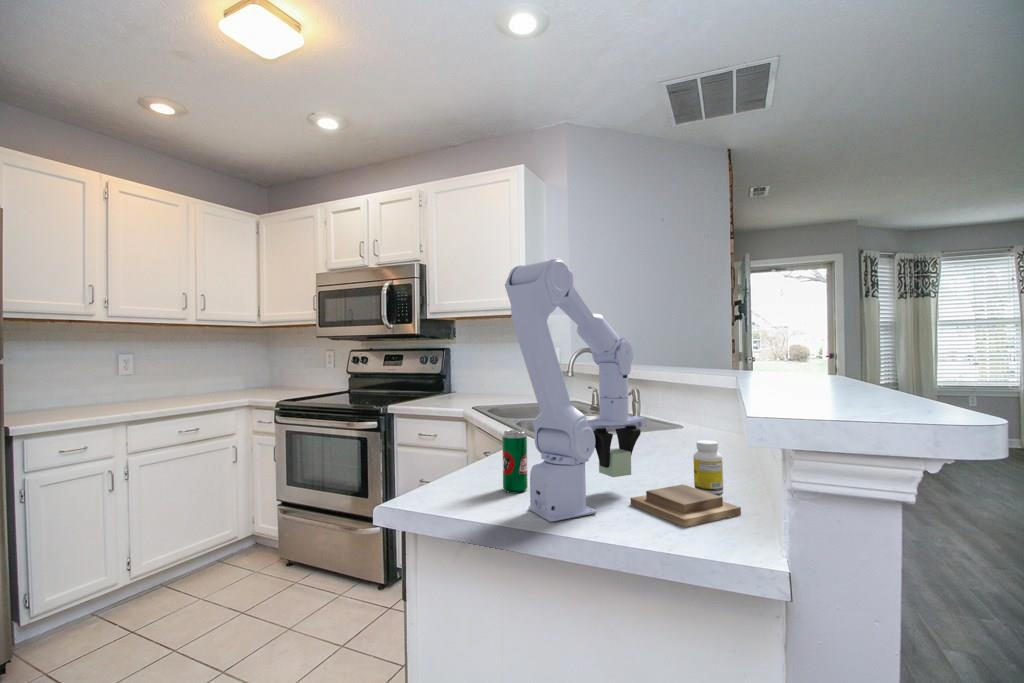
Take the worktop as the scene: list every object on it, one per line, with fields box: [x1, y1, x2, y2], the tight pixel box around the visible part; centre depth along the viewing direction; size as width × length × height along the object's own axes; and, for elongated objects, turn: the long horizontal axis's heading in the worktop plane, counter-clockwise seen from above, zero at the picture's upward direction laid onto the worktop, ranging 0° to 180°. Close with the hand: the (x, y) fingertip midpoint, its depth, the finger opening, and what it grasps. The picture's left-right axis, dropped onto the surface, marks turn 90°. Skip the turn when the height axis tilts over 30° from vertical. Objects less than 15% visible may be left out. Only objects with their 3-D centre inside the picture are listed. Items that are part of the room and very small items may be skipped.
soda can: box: [501, 429, 529, 493], centre depth 97 cm, size 5×5×12 cm
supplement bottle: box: [693, 439, 724, 495], centre depth 95 cm, size 5×5×10 cm
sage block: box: [598, 447, 632, 478], centre depth 94 cm, size 4×4×4 cm
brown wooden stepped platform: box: [629, 484, 742, 528], centre depth 83 cm, size 13×13×3 cm
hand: (614, 465), depth 94 cm, fingers closed on sage block, 4 cm apart
